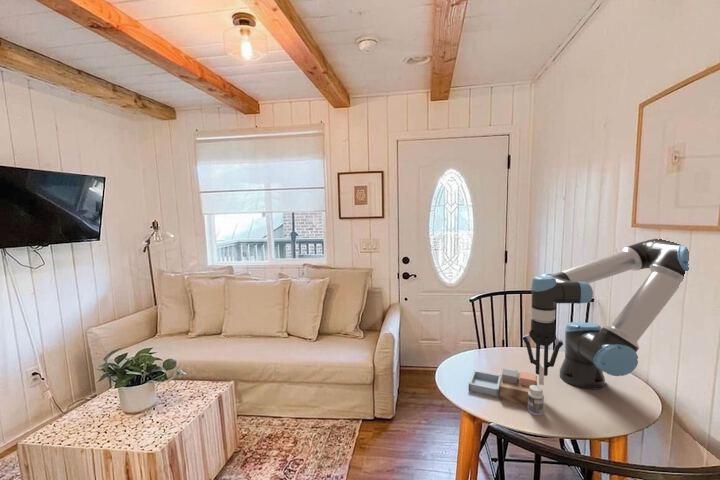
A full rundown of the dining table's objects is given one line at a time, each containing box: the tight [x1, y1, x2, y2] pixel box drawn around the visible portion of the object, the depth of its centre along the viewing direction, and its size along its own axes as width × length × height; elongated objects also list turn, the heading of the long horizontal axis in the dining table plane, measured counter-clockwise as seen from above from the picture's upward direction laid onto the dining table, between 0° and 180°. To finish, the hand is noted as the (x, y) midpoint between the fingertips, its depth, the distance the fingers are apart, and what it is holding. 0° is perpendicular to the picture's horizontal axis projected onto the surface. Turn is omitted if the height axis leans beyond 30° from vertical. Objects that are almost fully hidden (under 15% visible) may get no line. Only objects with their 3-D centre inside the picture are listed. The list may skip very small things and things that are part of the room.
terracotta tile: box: [519, 371, 537, 386], centre depth 123 cm, size 5×5×2 cm
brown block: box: [499, 371, 538, 406], centre depth 124 cm, size 12×14×5 cm
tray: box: [468, 370, 502, 398], centre depth 130 cm, size 11×12×3 cm
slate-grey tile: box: [501, 368, 519, 384], centre depth 126 cm, size 5×5×2 cm
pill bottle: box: [527, 384, 545, 416], centre depth 113 cm, size 5×5×8 cm
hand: (541, 383), depth 121 cm, fingers closed
